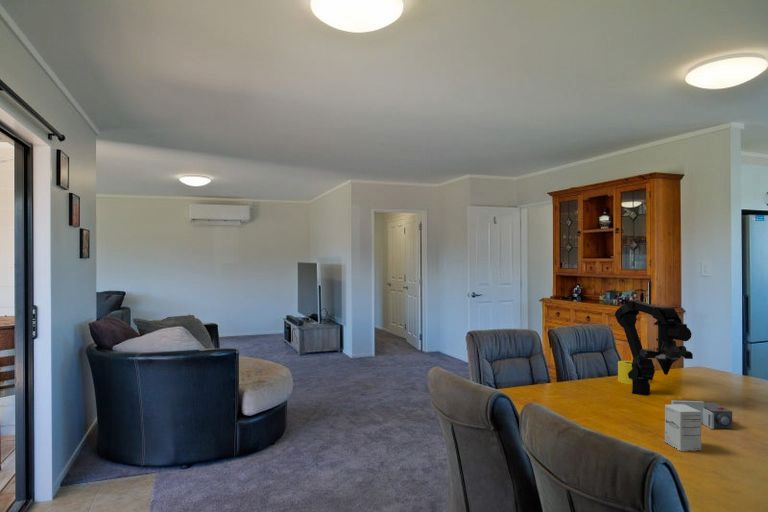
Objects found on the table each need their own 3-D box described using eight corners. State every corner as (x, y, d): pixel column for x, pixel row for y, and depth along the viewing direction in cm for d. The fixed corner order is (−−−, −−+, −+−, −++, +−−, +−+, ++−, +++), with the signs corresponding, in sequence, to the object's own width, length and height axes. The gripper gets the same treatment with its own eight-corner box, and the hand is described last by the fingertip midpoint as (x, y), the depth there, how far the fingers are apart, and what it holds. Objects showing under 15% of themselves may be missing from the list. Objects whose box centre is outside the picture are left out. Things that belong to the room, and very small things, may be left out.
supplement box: (663, 442, 152) (663, 404, 153) (685, 441, 153) (685, 403, 153) (680, 451, 145) (680, 411, 145) (702, 451, 146) (702, 411, 146)
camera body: (695, 417, 176) (695, 400, 176) (714, 418, 175) (714, 401, 175) (714, 429, 164) (714, 410, 164) (735, 430, 163) (735, 411, 163)
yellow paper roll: (613, 380, 230) (613, 361, 230) (628, 378, 233) (628, 359, 233) (630, 385, 220) (630, 365, 220) (645, 383, 224) (645, 364, 224)
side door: (671, 421, 171) (671, 400, 172) (702, 422, 171) (702, 401, 171) (681, 427, 165) (681, 406, 165) (713, 428, 164) (713, 406, 164)
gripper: (651, 340, 186) (651, 379, 186) (700, 340, 185) (700, 380, 185) (639, 335, 197) (639, 372, 197) (685, 336, 196) (685, 373, 196)
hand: (665, 374), depth 194 cm, fingers closed
